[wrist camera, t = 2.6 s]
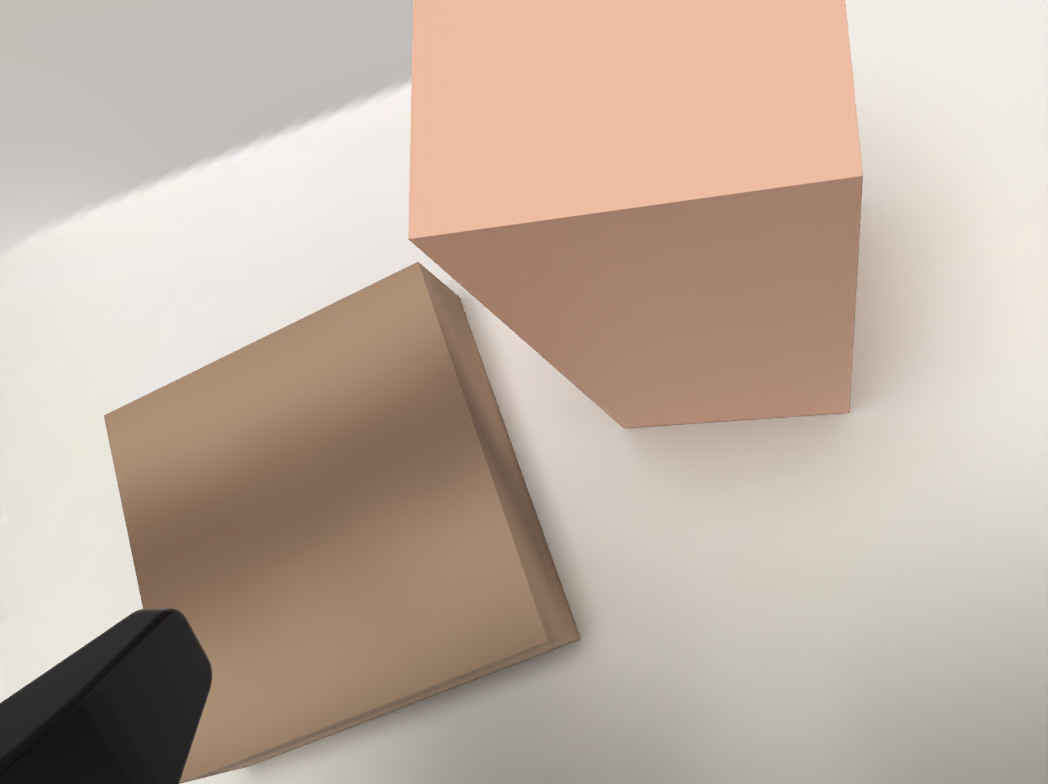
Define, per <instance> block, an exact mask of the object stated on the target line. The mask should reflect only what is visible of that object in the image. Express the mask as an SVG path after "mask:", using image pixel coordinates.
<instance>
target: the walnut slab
mask: <svg viewBox="0 0 1048 784" xmlns="http://www.w3.org/2000/svg"><path fill="white" fill-rule="evenodd" d="M104 419H105V423H106V428H107V433H108V438H109V443H110V448H111V453H112V458H113V463H114V468H115V473H116V477H117V482H118V487H119V492H120V497H121V502H122V507H123V512H124V517H125V522H126V527H127V531H128V536H129V541H130V546H131V551H132V556H133V561H134V566H135V571H136V576H137V580H138V585H139V590H140V595H141V600H142V605H143V609H145V608H174V609H177V610H179V611H180V612H181V613H183V614H184V616H185V617H186V619H187V620H188V622H189V624H190V626H191V628H192V629H193V631H194V633H195V635H196V637H197V638H198V640H199V642H200V644H201V646H202V648H203V649H204V651H205V653H206V655H207V657H208V658H209V661H210V663H211V667H212V684H211V688H210V692H209V695H208V698H207V701H206V704H205V707H204V710H203V713H202V716H201V719H200V722H199V725H198V728H197V731H196V734H195V737H194V740H193V743H192V746H191V750H190V753H189V756H188V759H187V762H186V765H185V768H184V771H183V774H182V777H181V780H180V783H184V782H188V781H192V780H196V779H200V778H204V777H208V776H212V775H216V774H220V773H224V772H228V771H232V770H236V769H240V768H244V767H248V766H251V765H253V764H256V763H259V762H261V761H264V760H266V759H269V758H272V757H274V756H277V755H279V754H282V753H285V752H287V751H290V750H292V749H295V748H298V747H300V746H303V745H305V744H308V743H311V742H313V741H316V740H318V739H321V738H324V737H326V736H329V735H332V734H334V733H337V732H339V731H342V730H345V729H347V728H350V727H352V726H355V725H358V724H360V723H363V722H365V721H368V720H371V719H373V718H376V717H378V716H381V715H384V714H386V713H389V712H391V711H394V710H397V709H399V708H402V707H404V706H407V705H410V704H412V703H415V702H418V701H420V700H423V699H425V698H428V697H431V696H433V695H436V694H438V693H441V692H444V691H446V690H449V689H451V688H454V687H457V686H459V685H462V684H464V683H467V682H470V681H472V680H475V679H477V678H480V677H483V676H485V675H488V674H490V673H493V672H496V671H498V670H501V669H503V668H506V667H509V666H511V665H514V664H517V663H519V662H522V661H524V660H527V659H530V658H532V657H535V656H537V655H540V654H543V653H545V652H548V651H550V650H553V649H556V648H558V647H561V646H563V645H566V644H569V643H571V642H574V641H576V640H579V639H580V636H579V633H578V630H577V627H576V625H575V622H574V619H573V616H572V613H571V610H570V608H569V605H568V602H567V599H566V596H565V594H564V591H563V588H562V585H561V582H560V580H559V577H558V574H557V571H556V568H555V565H554V563H553V560H552V557H551V554H550V551H549V549H548V546H547V543H546V540H545V537H544V535H543V532H542V529H541V526H540V523H539V520H538V518H537V515H536V512H535V509H534V506H533V504H532V501H531V498H530V495H529V492H528V489H527V487H526V484H525V481H524V478H523V475H522V473H521V470H520V467H519V464H518V461H517V459H516V456H515V453H514V450H513V447H512V444H511V442H510V439H509V436H508V433H507V430H506V428H505V425H504V422H503V419H502V416H501V414H500V411H499V408H498V405H497V402H496V399H495V397H494V394H493V391H492V388H491V385H490V383H489V380H488V377H487V374H486V371H485V369H484V366H483V363H482V360H481V357H480V354H479V352H478V349H477V346H476V343H475V340H474V338H473V335H472V332H471V329H470V326H469V323H468V321H467V318H466V315H465V312H464V309H463V307H462V304H461V301H460V298H459V297H458V296H457V295H456V294H455V293H454V292H453V291H451V290H450V289H449V288H448V287H447V286H446V285H444V284H443V283H442V282H441V281H440V280H439V279H437V278H436V277H435V276H434V275H433V274H432V273H430V272H429V271H428V270H427V269H426V268H425V267H423V266H422V265H421V264H420V263H419V262H417V263H415V264H413V265H411V266H409V267H407V268H405V269H403V270H401V271H399V272H396V273H394V274H392V275H390V276H388V277H386V278H384V279H382V280H380V281H378V282H376V283H374V284H372V285H370V286H368V287H366V288H364V289H362V290H360V291H358V292H356V293H354V294H352V295H350V296H347V297H345V298H343V299H341V300H339V301H337V302H335V303H333V304H331V305H329V306H327V307H325V308H323V309H321V310H319V311H317V312H315V313H313V314H311V315H309V316H307V317H305V318H303V319H300V320H298V321H296V322H294V323H292V324H290V325H288V326H286V327H284V328H282V329H280V330H278V331H276V332H274V333H272V334H270V335H268V336H266V337H264V338H262V339H260V340H258V341H256V342H253V343H251V344H249V345H247V346H245V347H243V348H241V349H239V350H237V351H235V352H233V353H231V354H229V355H227V356H225V357H223V358H221V359H219V360H217V361H215V362H213V363H211V364H209V365H206V366H204V367H202V368H200V369H198V370H196V371H194V372H192V373H190V374H188V375H186V376H184V377H182V378H180V379H178V380H176V381H174V382H172V383H170V384H168V385H166V386H164V387H162V388H160V389H157V390H155V391H153V392H151V393H149V394H147V395H145V396H143V397H141V398H139V399H137V400H135V401H133V402H131V403H129V404H127V405H125V406H123V407H121V408H119V409H117V410H115V411H113V412H110V413H108V414H106V415H104ZM180 783H179V784H180Z"/></svg>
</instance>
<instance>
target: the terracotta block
mask: <svg viewBox="0 0 1048 784" xmlns="http://www.w3.org/2000/svg"><path fill="white" fill-rule="evenodd" d="M413 6H414V7H413V52H412V99H411V147H410V195H409V240H410V241H411V242H412V243H414V244H415V245H416V246H417V247H418V248H419V249H420V250H421V251H423V252H424V253H425V254H426V255H427V256H428V257H429V258H431V259H432V260H433V261H434V262H435V263H436V264H437V265H439V266H440V267H441V268H442V269H443V270H444V271H445V272H447V273H448V274H449V275H450V276H451V277H452V278H453V279H455V280H456V281H457V282H458V283H459V284H460V285H461V286H462V287H464V288H465V289H466V290H467V291H468V292H469V293H470V294H472V295H473V296H474V297H475V298H476V299H477V300H478V301H480V302H481V303H482V304H483V305H484V306H485V307H486V308H488V309H489V310H490V311H491V312H492V313H493V314H494V315H495V316H497V317H498V318H499V319H500V320H501V321H502V322H503V323H505V324H506V325H507V326H508V327H509V328H510V329H511V330H513V331H514V332H515V333H516V334H517V335H518V336H519V337H521V338H522V339H523V340H524V341H525V342H526V343H527V344H529V345H530V346H531V347H532V348H533V349H534V350H535V351H536V352H538V353H539V354H540V355H541V356H542V357H543V358H544V359H546V360H547V361H548V362H549V363H550V364H551V365H552V366H554V367H555V368H556V369H557V370H558V371H559V372H560V373H562V374H563V375H564V376H565V377H566V378H567V379H568V380H570V381H571V382H572V383H573V384H574V385H575V386H576V387H577V388H579V389H580V390H581V391H582V392H583V393H584V394H585V395H587V396H588V397H589V398H590V399H591V400H592V401H593V402H595V403H596V404H597V405H598V406H599V407H600V408H601V409H603V410H604V411H605V412H606V413H607V414H608V415H609V416H610V417H612V418H613V419H614V420H615V421H616V422H617V423H618V424H620V425H621V426H622V427H623V428H636V427H651V426H665V425H679V424H694V423H708V422H723V421H737V420H751V419H766V418H780V417H794V416H809V415H823V414H837V413H849V409H850V391H851V374H852V356H853V338H854V321H855V303H856V286H857V268H858V250H859V233H860V215H861V198H862V180H863V173H862V164H861V154H860V144H859V134H858V124H857V114H856V104H855V94H854V84H853V74H852V64H851V54H850V44H849V34H848V24H847V14H846V4H845V0H414V3H413Z"/></svg>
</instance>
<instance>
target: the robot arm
mask: <svg viewBox="0 0 1048 784" xmlns="http://www.w3.org/2000/svg"><path fill="white" fill-rule="evenodd" d="M211 684H212V667H211V663H210V661H209V658H208V657H207V655H206V653H205V651H204V649H203V648H202V646H201V644H200V642H199V640H198V638H197V637H196V635H195V633H194V631H193V629H192V628H191V626H190V624H189V622H188V620H187V619H186V617H185V616H184V614H183V613H181V612H180V611H179V610H177V609H174V608H145V609H140V610H138V611H135V612H134V613H132V614H131V615H129V616H128V617H126V618H125V619H123V620H122V621H120V622H119V623H117V624H116V625H114V626H113V627H112V628H110V629H109V630H107V631H106V632H104V633H103V634H101V635H100V636H98V637H97V638H95V639H94V640H92V641H91V642H90V643H88V644H87V645H85V646H84V647H82V648H81V649H79V650H78V651H76V652H75V653H73V654H72V655H70V656H69V657H67V658H66V659H65V660H63V661H62V662H60V663H59V664H57V665H56V666H54V667H53V668H51V669H50V670H48V671H47V672H45V673H44V674H43V675H41V676H40V677H38V678H37V679H35V680H34V681H32V682H31V683H29V684H28V685H26V686H25V687H23V688H22V689H20V690H19V691H18V692H16V693H15V694H13V695H12V696H10V697H9V698H7V699H6V700H4V701H3V702H1V703H0V784H179V783H180V780H181V777H182V774H183V771H184V768H185V765H186V762H187V759H188V756H189V753H190V750H191V746H192V743H193V740H194V737H195V734H196V731H197V728H198V725H199V722H200V719H201V716H202V713H203V710H204V707H205V704H206V701H207V698H208V695H209V692H210V688H211Z"/></svg>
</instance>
